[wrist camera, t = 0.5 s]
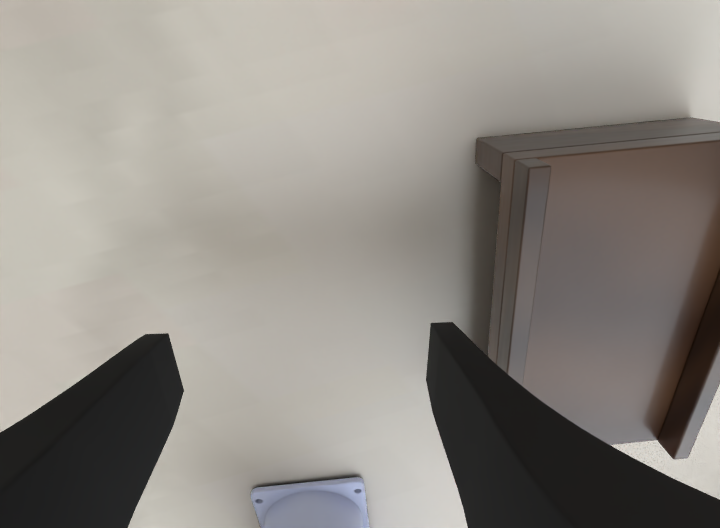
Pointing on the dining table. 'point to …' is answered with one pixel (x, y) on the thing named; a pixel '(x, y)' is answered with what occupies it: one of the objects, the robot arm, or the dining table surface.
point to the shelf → (611, 275)
